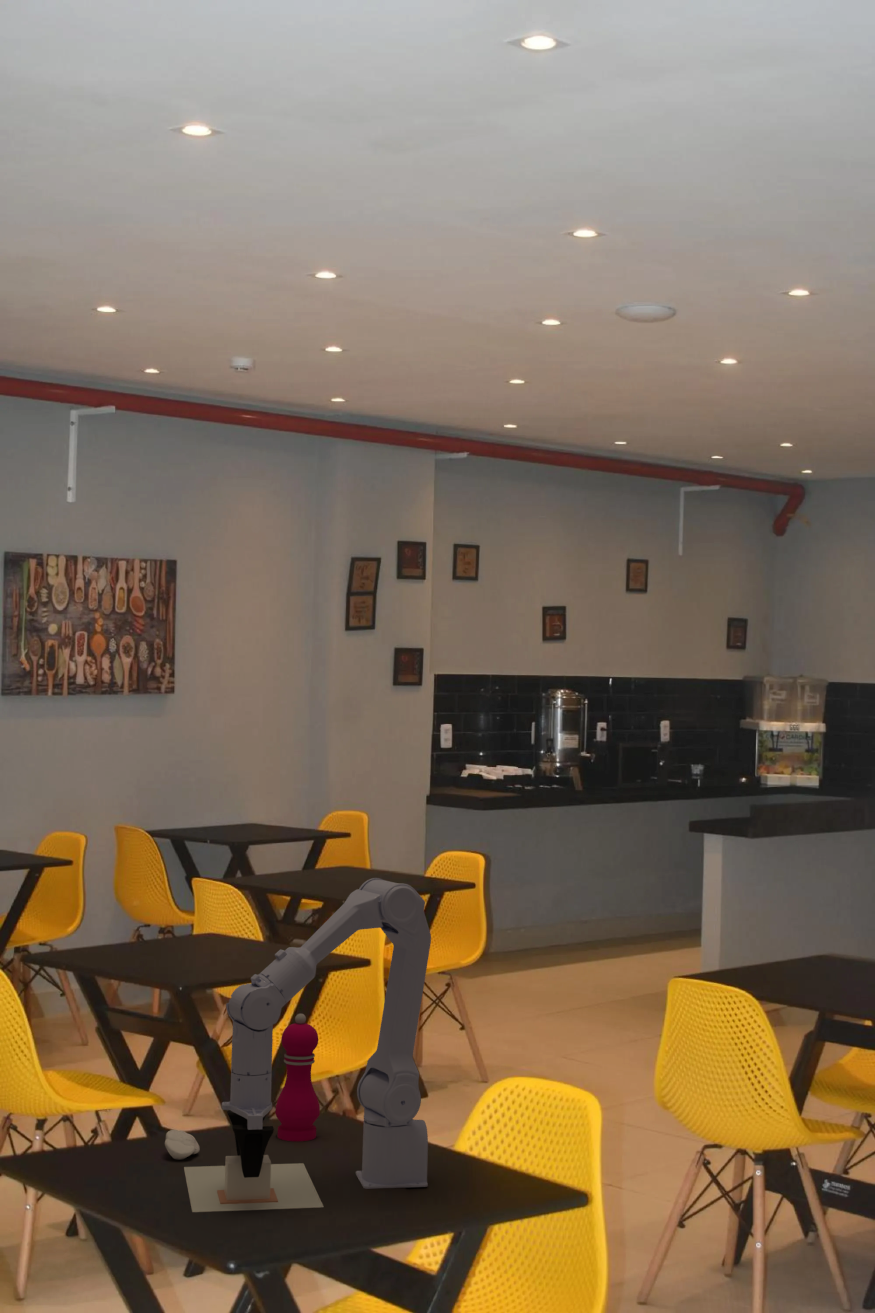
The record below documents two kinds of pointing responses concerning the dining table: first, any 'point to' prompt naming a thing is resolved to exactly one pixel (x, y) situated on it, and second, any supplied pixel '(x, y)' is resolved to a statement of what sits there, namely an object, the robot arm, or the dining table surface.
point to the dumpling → (180, 1144)
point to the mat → (288, 1187)
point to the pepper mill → (298, 1084)
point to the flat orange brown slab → (224, 1201)
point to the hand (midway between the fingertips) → (248, 1169)
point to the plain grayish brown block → (246, 1180)
